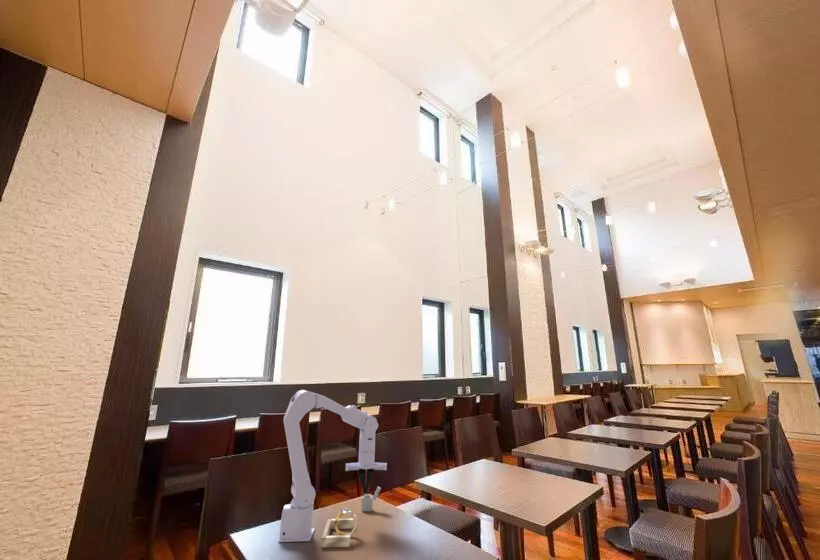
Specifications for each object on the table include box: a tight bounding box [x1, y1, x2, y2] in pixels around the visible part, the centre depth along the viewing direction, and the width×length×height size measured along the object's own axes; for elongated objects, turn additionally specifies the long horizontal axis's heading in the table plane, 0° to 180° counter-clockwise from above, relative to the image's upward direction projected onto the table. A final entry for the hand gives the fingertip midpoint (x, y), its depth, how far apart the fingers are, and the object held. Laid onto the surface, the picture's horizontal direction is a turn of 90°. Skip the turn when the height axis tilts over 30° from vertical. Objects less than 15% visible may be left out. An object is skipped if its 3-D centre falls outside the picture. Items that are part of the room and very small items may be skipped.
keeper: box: [320, 517, 354, 548], centre depth 108 cm, size 8×13×2 cm, turn 5°
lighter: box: [360, 486, 382, 512], centre depth 129 cm, size 7×2×8 cm, turn 89°
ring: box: [334, 506, 358, 536], centre depth 109 cm, size 7×3×8 cm, turn 91°
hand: (365, 492), depth 120 cm, fingers closed
